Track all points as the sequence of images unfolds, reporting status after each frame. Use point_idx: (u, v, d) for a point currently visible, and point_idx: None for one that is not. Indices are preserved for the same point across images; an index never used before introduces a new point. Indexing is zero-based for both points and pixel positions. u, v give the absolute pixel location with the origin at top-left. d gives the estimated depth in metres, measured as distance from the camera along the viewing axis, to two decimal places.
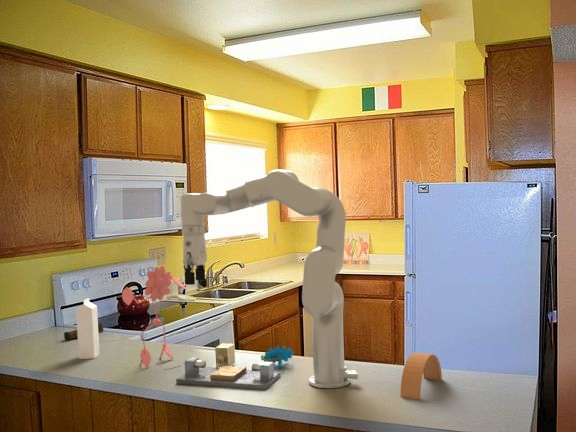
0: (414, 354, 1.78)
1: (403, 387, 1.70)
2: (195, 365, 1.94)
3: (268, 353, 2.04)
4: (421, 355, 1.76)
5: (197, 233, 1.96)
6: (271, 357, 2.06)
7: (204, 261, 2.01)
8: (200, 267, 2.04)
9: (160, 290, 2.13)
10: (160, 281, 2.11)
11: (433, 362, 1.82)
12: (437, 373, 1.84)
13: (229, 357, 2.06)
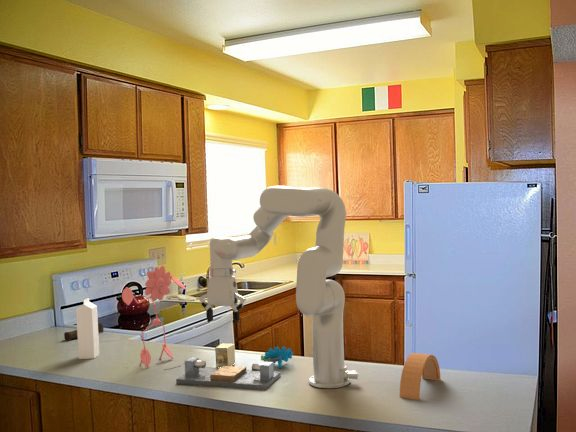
0: (413, 354, 1.77)
1: (402, 387, 1.70)
2: (195, 365, 1.94)
3: (268, 353, 2.04)
4: (420, 355, 1.76)
5: None
6: (271, 357, 2.05)
7: None
8: (210, 308, 2.10)
9: (160, 290, 2.13)
10: (160, 281, 2.11)
11: (432, 362, 1.82)
12: (436, 373, 1.84)
13: (229, 357, 2.06)
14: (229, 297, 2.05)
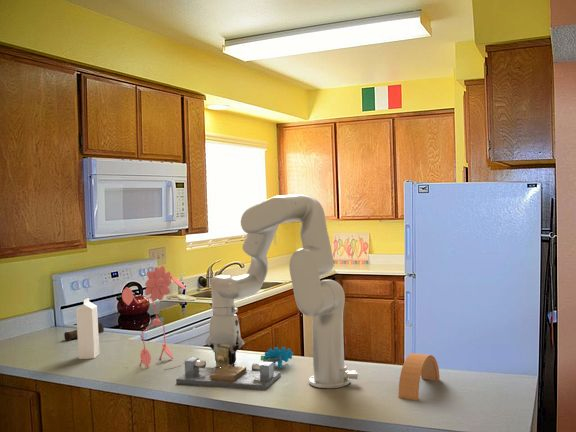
0: (412, 355, 1.77)
1: (401, 388, 1.70)
2: (195, 365, 1.94)
3: (267, 353, 2.04)
4: (419, 356, 1.76)
5: None
6: (271, 357, 2.05)
7: None
8: None
9: (160, 290, 2.13)
10: (160, 281, 2.11)
11: (431, 363, 1.81)
12: (435, 374, 1.83)
13: (229, 357, 2.06)
14: (231, 336, 2.05)
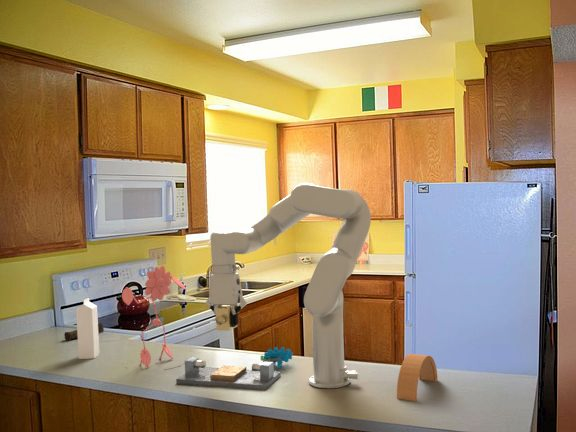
0: (410, 355, 1.77)
1: (399, 389, 1.69)
2: (195, 365, 1.94)
3: (267, 353, 2.03)
4: (417, 356, 1.75)
5: None
6: (271, 358, 2.05)
7: None
8: None
9: (160, 290, 2.13)
10: (160, 281, 2.11)
11: (429, 363, 1.81)
12: (433, 374, 1.83)
13: (230, 318, 1.92)
14: (232, 295, 1.91)
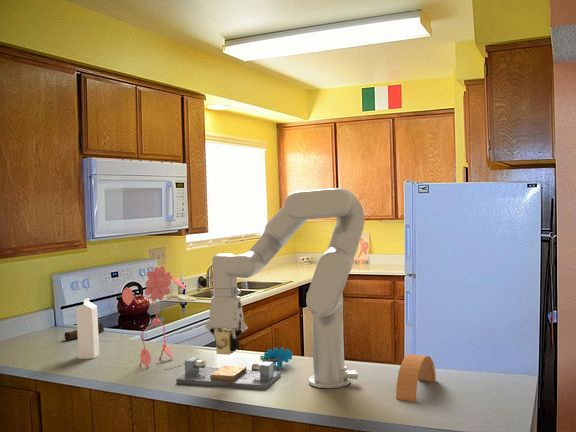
0: (409, 356, 1.76)
1: (399, 389, 1.69)
2: (195, 365, 1.94)
3: (267, 353, 2.03)
4: (416, 357, 1.75)
5: None
6: (270, 358, 2.05)
7: None
8: None
9: (160, 290, 2.13)
10: (160, 281, 2.11)
11: (427, 363, 1.81)
12: (431, 374, 1.83)
13: None
14: (233, 319, 1.88)
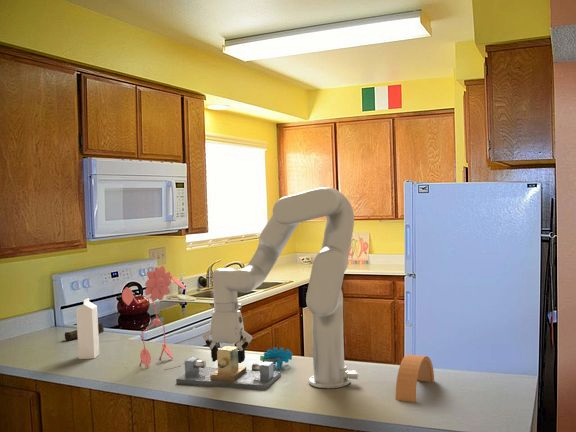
0: (408, 356, 1.76)
1: (398, 390, 1.68)
2: (195, 365, 1.94)
3: (267, 354, 2.03)
4: (415, 357, 1.75)
5: None
6: (270, 358, 2.05)
7: None
8: (215, 346, 1.93)
9: (160, 290, 2.13)
10: (160, 281, 2.11)
11: (426, 364, 1.81)
12: (429, 375, 1.82)
13: (232, 361, 1.90)
14: (235, 334, 1.88)
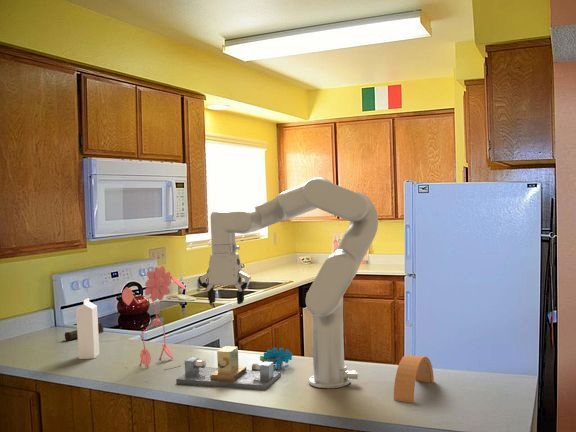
0: (406, 356, 1.76)
1: (396, 390, 1.68)
2: (195, 365, 1.94)
3: (266, 354, 2.03)
4: (413, 357, 1.74)
5: None
6: (270, 358, 2.05)
7: None
8: (212, 289, 1.94)
9: (160, 290, 2.13)
10: (160, 281, 2.11)
11: (425, 364, 1.80)
12: (429, 375, 1.82)
13: (232, 361, 1.90)
14: (233, 275, 1.88)
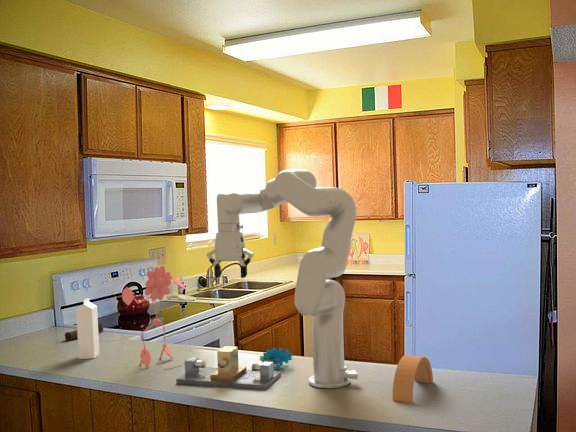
0: (405, 357, 1.75)
1: (395, 390, 1.68)
2: (195, 365, 1.94)
3: (266, 354, 2.03)
4: (412, 358, 1.74)
5: None
6: (270, 358, 2.04)
7: None
8: (218, 264, 2.12)
9: (160, 290, 2.13)
10: (160, 281, 2.11)
11: (424, 365, 1.80)
12: (428, 376, 1.82)
13: (232, 361, 1.90)
14: (237, 252, 2.06)
